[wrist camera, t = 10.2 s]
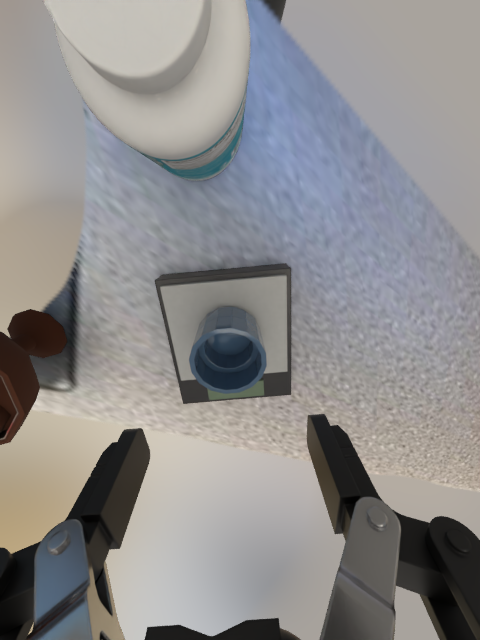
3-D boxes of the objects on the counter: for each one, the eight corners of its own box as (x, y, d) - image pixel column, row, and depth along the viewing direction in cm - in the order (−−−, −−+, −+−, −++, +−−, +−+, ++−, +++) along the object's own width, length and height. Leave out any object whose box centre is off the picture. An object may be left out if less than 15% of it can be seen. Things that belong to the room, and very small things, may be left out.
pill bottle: (128, 83, 17) (-132, -246, 5) (226, 47, 17) (205, -431, 4) (168, 195, 20) (65, 162, 8) (252, 168, 20) (285, 86, 7)
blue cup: (193, 307, 22) (182, 332, 17) (258, 301, 21) (264, 324, 17) (203, 361, 24) (196, 396, 19) (261, 356, 24) (268, 390, 19)
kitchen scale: (161, 274, 23) (152, 281, 20) (286, 263, 23) (292, 269, 20) (186, 390, 29) (182, 407, 26) (287, 382, 28) (292, 398, 26)
